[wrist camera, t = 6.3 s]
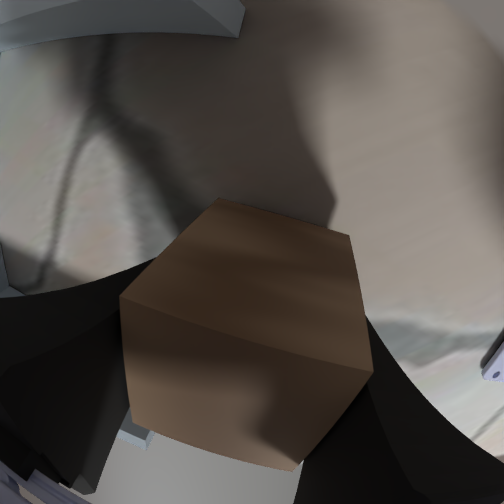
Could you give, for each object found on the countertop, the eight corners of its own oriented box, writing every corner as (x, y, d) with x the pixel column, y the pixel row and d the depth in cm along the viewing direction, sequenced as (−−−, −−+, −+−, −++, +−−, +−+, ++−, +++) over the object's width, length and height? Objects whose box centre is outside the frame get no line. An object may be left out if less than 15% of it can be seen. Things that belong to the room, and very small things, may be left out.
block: (349, 235, 10) (373, 371, 5) (308, 335, 12) (292, 471, 7) (218, 198, 10) (119, 296, 5) (200, 303, 12) (132, 422, 7)
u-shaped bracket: (245, 8, 8) (192, -55, 4) (180, 380, 16) (146, 450, 12) (-5, 35, 9) (-72, 40, 5) (3, 293, 18) (-39, 329, 13)
